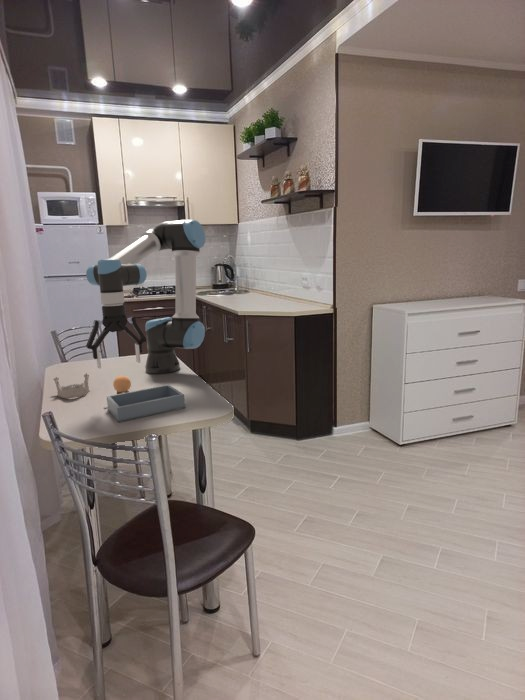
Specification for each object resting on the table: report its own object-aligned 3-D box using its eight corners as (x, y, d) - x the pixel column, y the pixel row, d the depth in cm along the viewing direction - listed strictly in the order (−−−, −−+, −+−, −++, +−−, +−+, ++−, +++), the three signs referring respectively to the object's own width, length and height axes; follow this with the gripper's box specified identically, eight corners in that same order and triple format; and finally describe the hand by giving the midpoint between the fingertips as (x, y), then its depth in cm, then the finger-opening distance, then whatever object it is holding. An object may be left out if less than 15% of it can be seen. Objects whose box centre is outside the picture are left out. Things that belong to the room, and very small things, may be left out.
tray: (170, 396, 166) (168, 384, 165) (185, 407, 153) (184, 394, 152) (108, 409, 155) (106, 396, 154) (118, 422, 143) (117, 408, 142)
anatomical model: (54, 400, 165) (51, 373, 166) (56, 403, 175) (53, 378, 176) (92, 394, 170) (88, 368, 171) (92, 398, 179) (88, 373, 181)
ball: (129, 388, 167) (127, 372, 166) (133, 392, 162) (131, 376, 161) (112, 391, 165) (110, 375, 163) (116, 395, 159) (114, 379, 158)
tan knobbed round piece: (121, 398, 167) (120, 389, 166) (132, 398, 166) (131, 389, 165) (115, 402, 163) (114, 392, 162) (126, 402, 161) (125, 393, 161)
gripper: (145, 301, 166) (150, 358, 170) (72, 307, 154) (80, 368, 158) (152, 302, 160) (157, 361, 164) (76, 308, 147) (84, 372, 152)
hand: (119, 365), depth 161 cm, fingers open, 13 cm apart
